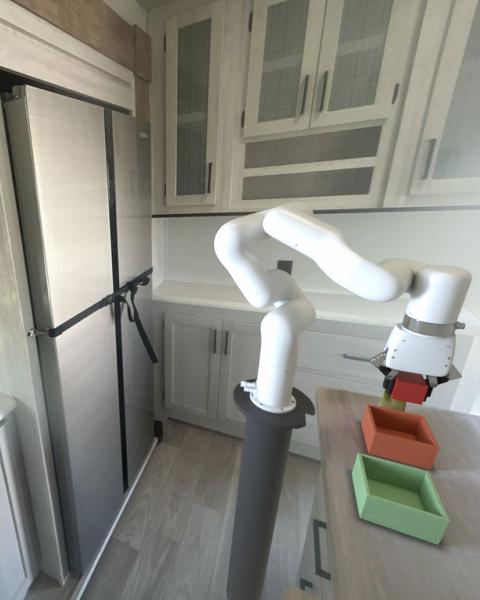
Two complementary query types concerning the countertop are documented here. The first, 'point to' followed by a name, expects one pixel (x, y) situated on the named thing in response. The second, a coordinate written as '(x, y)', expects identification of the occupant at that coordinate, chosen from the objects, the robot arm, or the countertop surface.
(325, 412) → the countertop surface
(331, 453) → the countertop surface
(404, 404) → the fennel bulb
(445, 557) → the countertop surface
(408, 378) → the red block
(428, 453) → the terracotta bin
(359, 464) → the sage bin
